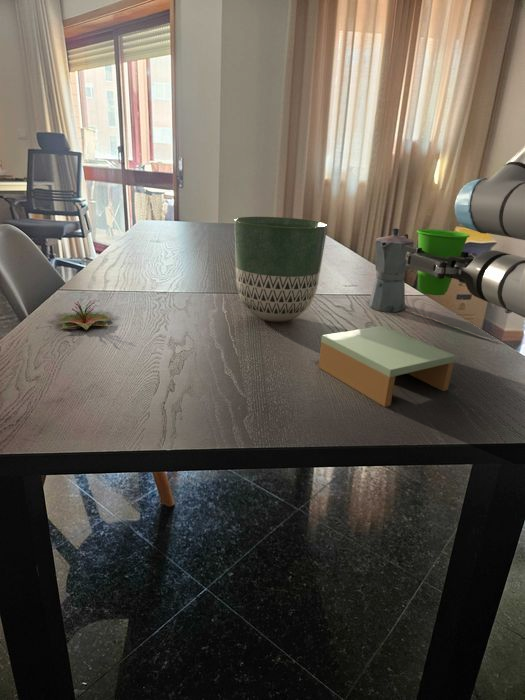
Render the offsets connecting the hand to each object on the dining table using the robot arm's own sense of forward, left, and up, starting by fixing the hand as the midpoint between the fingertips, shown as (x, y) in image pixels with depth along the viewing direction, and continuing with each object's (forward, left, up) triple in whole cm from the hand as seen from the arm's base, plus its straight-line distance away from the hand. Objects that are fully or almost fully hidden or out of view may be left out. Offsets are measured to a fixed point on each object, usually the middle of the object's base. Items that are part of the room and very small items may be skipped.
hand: (425, 253), depth 90 cm
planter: (+24, +18, -18) cm, 35 cm away
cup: (-4, +2, -7) cm, 8 cm away
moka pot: (+22, -15, -18) cm, 32 cm away
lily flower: (+35, +57, -18) cm, 69 cm away
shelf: (-11, +19, -18) cm, 29 cm away
